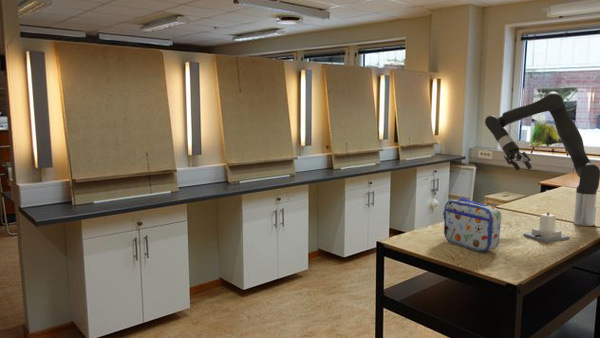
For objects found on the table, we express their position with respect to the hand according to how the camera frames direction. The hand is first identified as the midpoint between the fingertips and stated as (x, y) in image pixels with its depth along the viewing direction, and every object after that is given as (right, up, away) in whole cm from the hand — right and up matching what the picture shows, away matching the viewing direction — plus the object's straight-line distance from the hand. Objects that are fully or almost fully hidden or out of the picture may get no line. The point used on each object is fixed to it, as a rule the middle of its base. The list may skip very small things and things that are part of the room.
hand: (524, 169), depth 242 cm
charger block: (+2, -32, -17) cm, 37 cm away
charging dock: (+2, -33, -17) cm, 38 cm away
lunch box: (-40, -36, -29) cm, 61 cm away
